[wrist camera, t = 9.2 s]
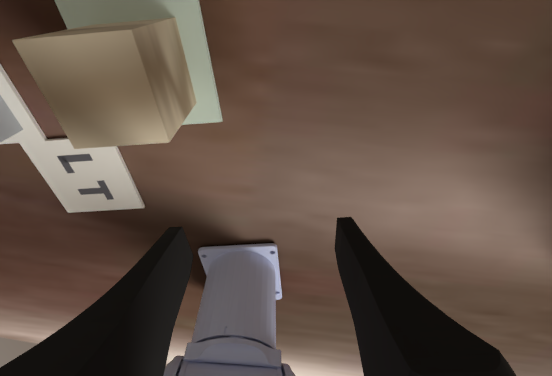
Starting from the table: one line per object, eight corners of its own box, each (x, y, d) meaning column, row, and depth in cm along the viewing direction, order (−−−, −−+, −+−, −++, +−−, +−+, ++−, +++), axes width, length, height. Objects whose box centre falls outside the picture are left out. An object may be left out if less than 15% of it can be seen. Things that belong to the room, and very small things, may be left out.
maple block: (196, 102, 19) (169, 142, 14) (125, 108, 19) (74, 149, 14) (175, 17, 16) (131, 29, 11) (91, 24, 16) (11, 40, 11)
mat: (222, 120, 20) (221, 121, 19) (115, 128, 20) (113, 129, 20) (195, -18, 15) (194, -18, 15) (55, -5, 15) (52, -5, 15)
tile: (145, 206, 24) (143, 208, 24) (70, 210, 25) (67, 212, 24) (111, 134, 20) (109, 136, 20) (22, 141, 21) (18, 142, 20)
